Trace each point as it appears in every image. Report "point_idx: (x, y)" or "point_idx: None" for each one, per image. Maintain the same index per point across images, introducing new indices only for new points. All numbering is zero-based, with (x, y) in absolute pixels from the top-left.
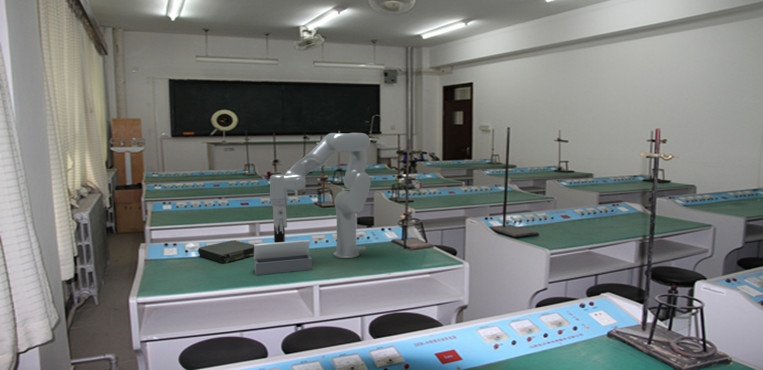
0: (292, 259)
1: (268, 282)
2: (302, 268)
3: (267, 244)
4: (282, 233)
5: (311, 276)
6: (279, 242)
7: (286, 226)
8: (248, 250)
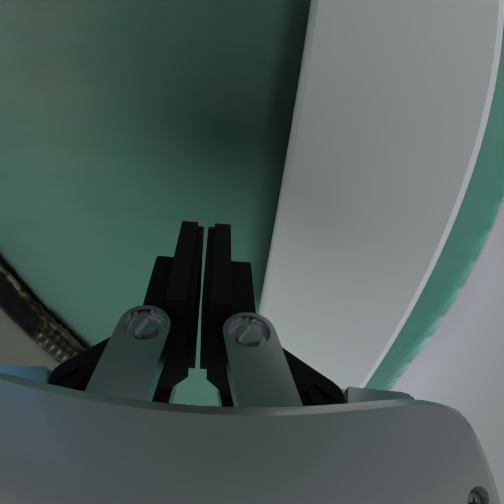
0: None
1: (448, 277)
2: None
3: (364, 384)
4: (266, 329)
5: (499, 99)
6: (400, 320)
7: (467, 422)
8: (14, 311)
